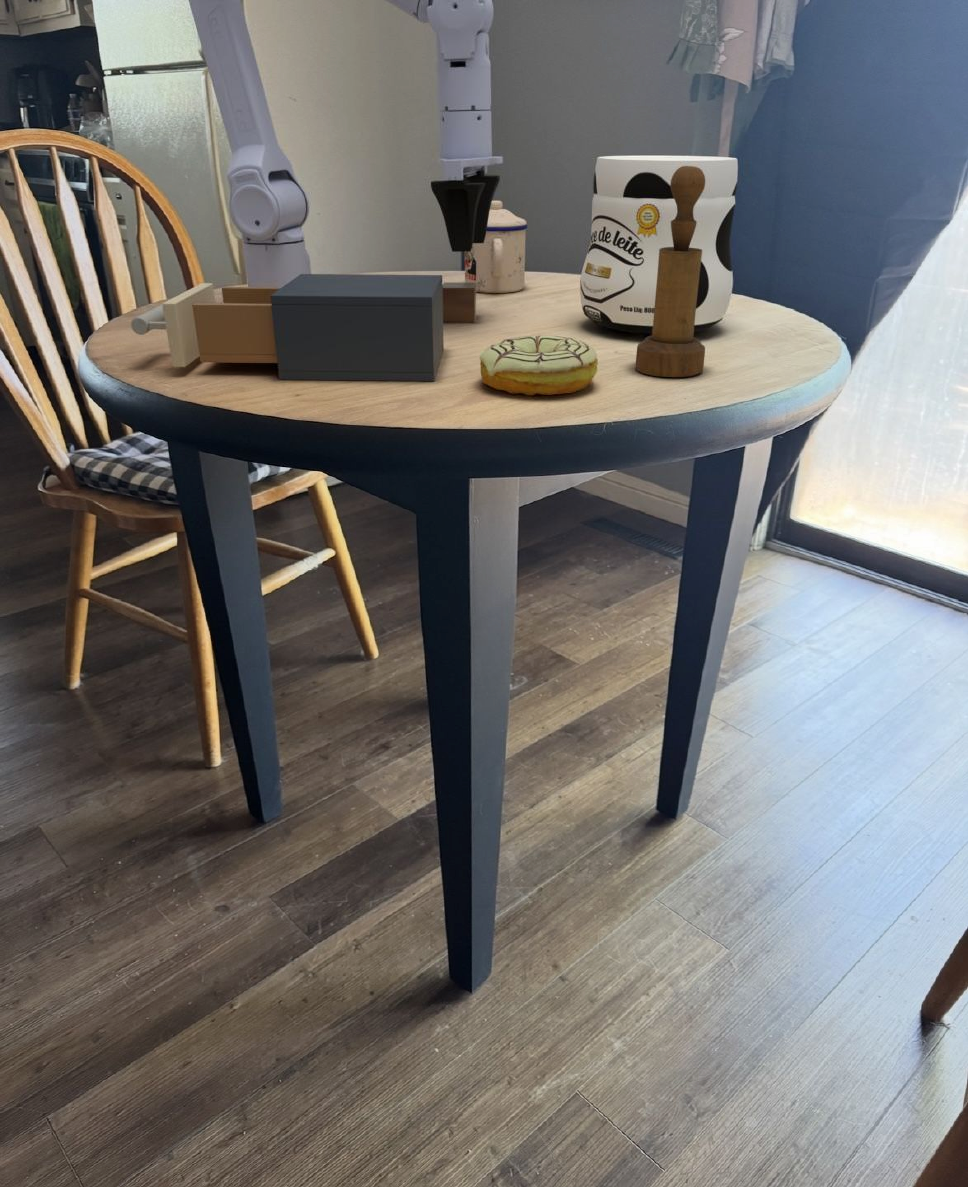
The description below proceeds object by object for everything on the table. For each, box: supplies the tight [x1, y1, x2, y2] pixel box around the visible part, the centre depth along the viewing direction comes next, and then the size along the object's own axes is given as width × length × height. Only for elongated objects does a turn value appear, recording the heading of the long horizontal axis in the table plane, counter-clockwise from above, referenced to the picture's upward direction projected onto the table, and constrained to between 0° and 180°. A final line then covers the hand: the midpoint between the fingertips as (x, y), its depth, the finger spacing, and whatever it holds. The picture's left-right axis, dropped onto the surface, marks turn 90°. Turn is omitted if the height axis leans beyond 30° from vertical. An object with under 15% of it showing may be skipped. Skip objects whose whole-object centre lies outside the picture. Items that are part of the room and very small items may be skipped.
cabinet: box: [270, 273, 445, 382], centre depth 86 cm, size 15×13×8 cm
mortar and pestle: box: [635, 166, 706, 378], centre depth 82 cm, size 7×6×18 cm
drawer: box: [130, 282, 282, 368], centre depth 86 cm, size 18×11×6 cm, turn 88°
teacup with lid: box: [464, 200, 528, 294], centre depth 123 cm, size 12×9×12 cm
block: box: [442, 281, 477, 323], centre depth 107 cm, size 4×4×4 cm
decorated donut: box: [479, 335, 599, 396], centre depth 80 cm, size 10×11×4 cm
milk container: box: [579, 154, 739, 335], centre depth 99 cm, size 17×17×18 cm
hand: (468, 247), depth 100 cm, fingers open, 7 cm apart
